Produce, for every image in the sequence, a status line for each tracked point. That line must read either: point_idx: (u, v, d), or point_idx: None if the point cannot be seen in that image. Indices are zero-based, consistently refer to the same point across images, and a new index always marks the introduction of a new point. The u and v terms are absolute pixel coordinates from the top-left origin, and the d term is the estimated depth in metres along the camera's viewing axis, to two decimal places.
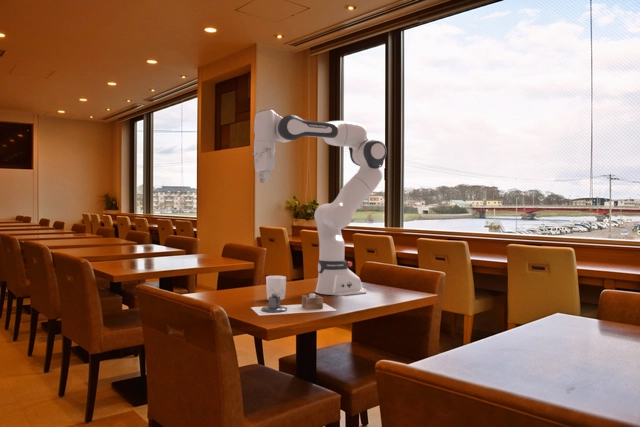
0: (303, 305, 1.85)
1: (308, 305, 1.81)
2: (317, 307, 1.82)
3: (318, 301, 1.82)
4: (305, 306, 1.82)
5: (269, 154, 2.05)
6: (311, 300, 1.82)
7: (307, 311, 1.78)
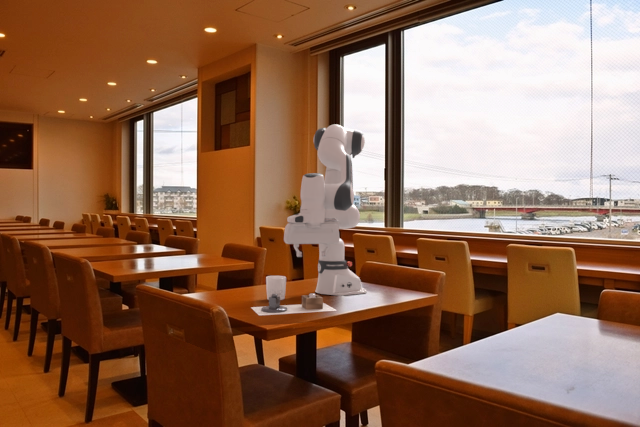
0: (303, 305, 1.85)
1: (308, 305, 1.81)
2: (317, 307, 1.82)
3: (318, 301, 1.82)
4: (305, 306, 1.82)
5: (338, 226, 1.87)
6: (311, 300, 1.82)
7: (307, 311, 1.78)
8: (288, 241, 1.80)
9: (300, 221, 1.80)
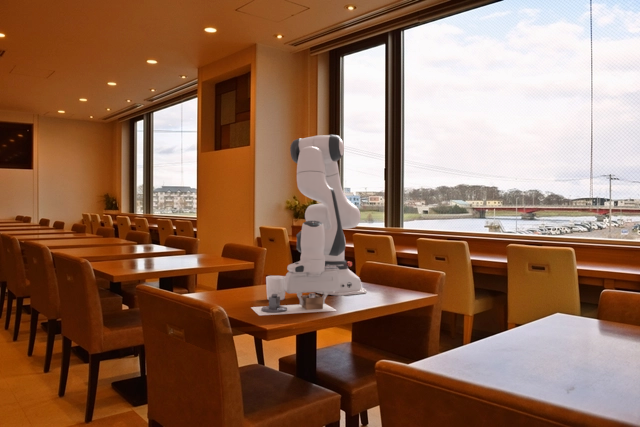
0: (303, 305, 1.85)
1: (308, 305, 1.81)
2: (317, 307, 1.82)
3: (318, 301, 1.82)
4: (305, 306, 1.82)
5: (338, 274, 1.87)
6: (311, 300, 1.82)
7: (307, 311, 1.78)
8: (289, 291, 1.80)
9: (300, 271, 1.80)
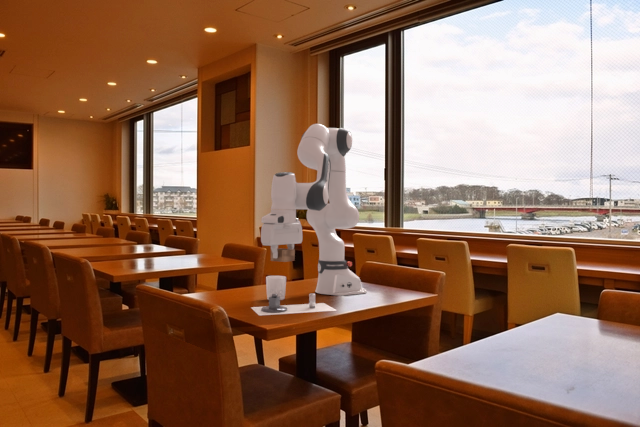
0: (275, 258, 1.78)
1: (285, 257, 1.77)
2: (291, 259, 1.80)
3: (292, 253, 1.80)
4: (280, 259, 1.77)
5: None
6: (287, 252, 1.78)
7: (307, 311, 1.78)
8: (270, 243, 1.71)
9: (281, 221, 1.74)
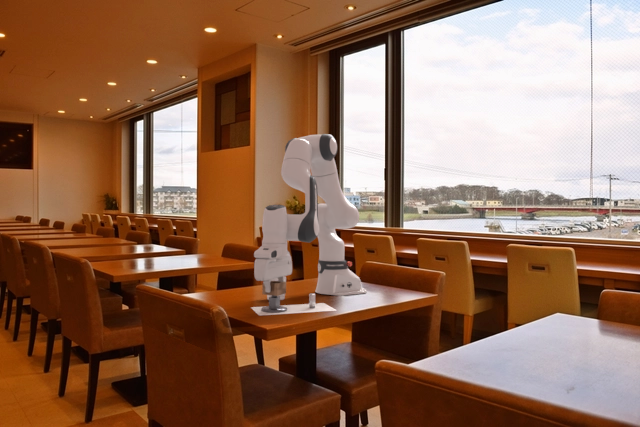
0: (267, 292, 1.78)
1: (278, 291, 1.77)
2: (283, 292, 1.80)
3: (283, 286, 1.80)
4: (273, 292, 1.77)
5: None
6: (279, 285, 1.77)
7: (307, 311, 1.78)
8: (264, 278, 1.71)
9: (274, 256, 1.74)
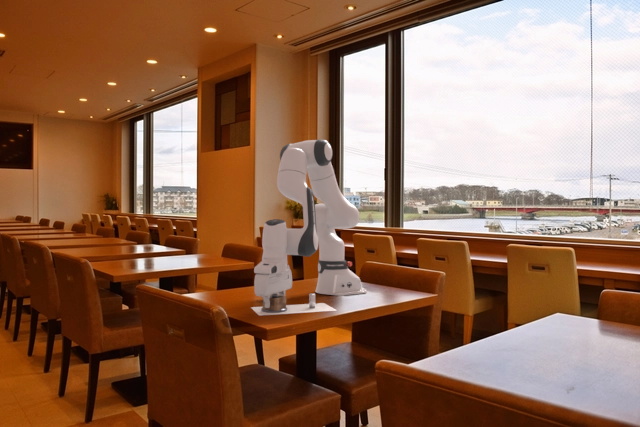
0: None
1: (278, 306, 1.77)
2: (283, 306, 1.80)
3: (283, 300, 1.80)
4: (273, 307, 1.77)
5: None
6: (280, 300, 1.78)
7: (307, 311, 1.78)
8: (265, 294, 1.71)
9: (274, 271, 1.74)
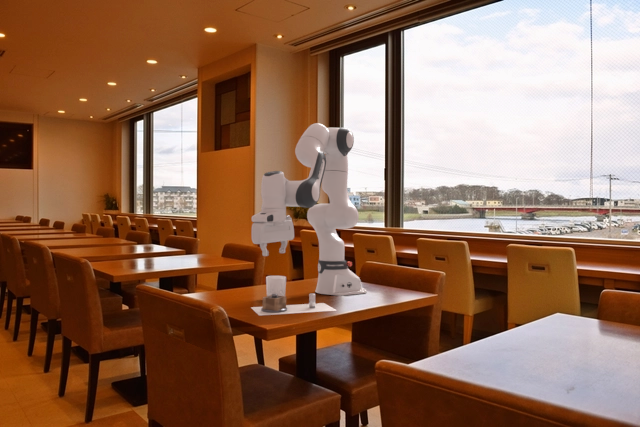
0: (267, 307, 1.78)
1: (278, 306, 1.77)
2: (283, 306, 1.80)
3: (283, 300, 1.80)
4: (273, 307, 1.77)
5: None
6: (280, 300, 1.78)
7: (307, 311, 1.78)
8: (260, 241, 1.76)
9: (271, 220, 1.79)
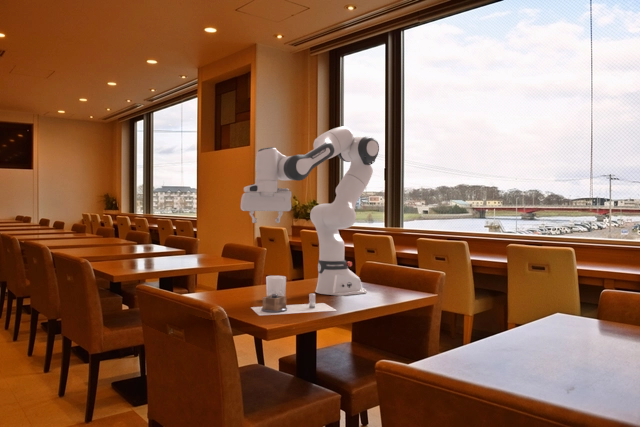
0: (267, 307, 1.78)
1: (278, 306, 1.77)
2: (283, 306, 1.80)
3: (283, 300, 1.80)
4: (273, 307, 1.77)
5: (290, 196, 2.08)
6: (280, 300, 1.78)
7: (307, 311, 1.78)
8: (244, 208, 2.00)
9: (254, 190, 2.00)
